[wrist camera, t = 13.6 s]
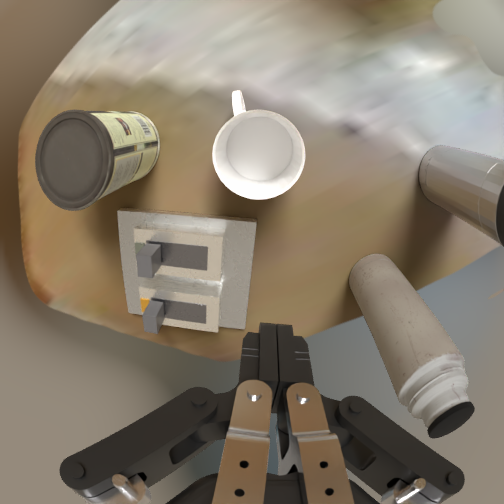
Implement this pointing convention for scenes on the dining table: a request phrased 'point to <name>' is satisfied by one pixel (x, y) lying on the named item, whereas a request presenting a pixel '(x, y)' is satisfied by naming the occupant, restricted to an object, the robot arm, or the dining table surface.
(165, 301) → the breaker panel
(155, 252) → the on breaker handle
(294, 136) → the mug
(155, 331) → the breaker handle
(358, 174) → the dining table surface
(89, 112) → the coffee can
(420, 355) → the thermos bottle
